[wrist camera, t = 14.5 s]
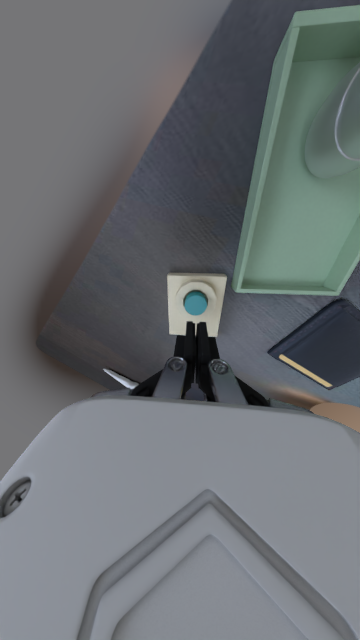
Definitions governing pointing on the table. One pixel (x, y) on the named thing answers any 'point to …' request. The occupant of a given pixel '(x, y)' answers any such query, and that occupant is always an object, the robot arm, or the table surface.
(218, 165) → the table surface
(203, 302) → the button
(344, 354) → the wallet
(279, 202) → the tray
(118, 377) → the white tapered spike
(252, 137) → the table surface
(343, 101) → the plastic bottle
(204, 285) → the control block
